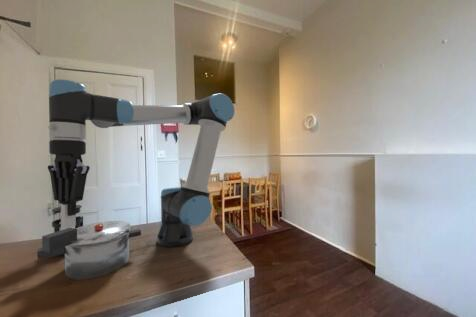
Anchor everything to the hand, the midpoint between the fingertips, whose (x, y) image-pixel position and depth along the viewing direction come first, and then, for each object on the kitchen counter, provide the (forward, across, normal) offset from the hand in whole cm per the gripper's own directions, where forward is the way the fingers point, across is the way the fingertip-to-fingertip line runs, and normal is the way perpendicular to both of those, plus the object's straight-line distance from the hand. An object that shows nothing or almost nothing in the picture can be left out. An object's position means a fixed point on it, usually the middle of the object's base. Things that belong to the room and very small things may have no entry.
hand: (68, 226), depth 55 cm
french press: (+18, -27, +17) cm, 37 cm away
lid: (+8, -6, +11) cm, 15 cm away
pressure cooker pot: (+18, -6, +14) cm, 23 cm away
